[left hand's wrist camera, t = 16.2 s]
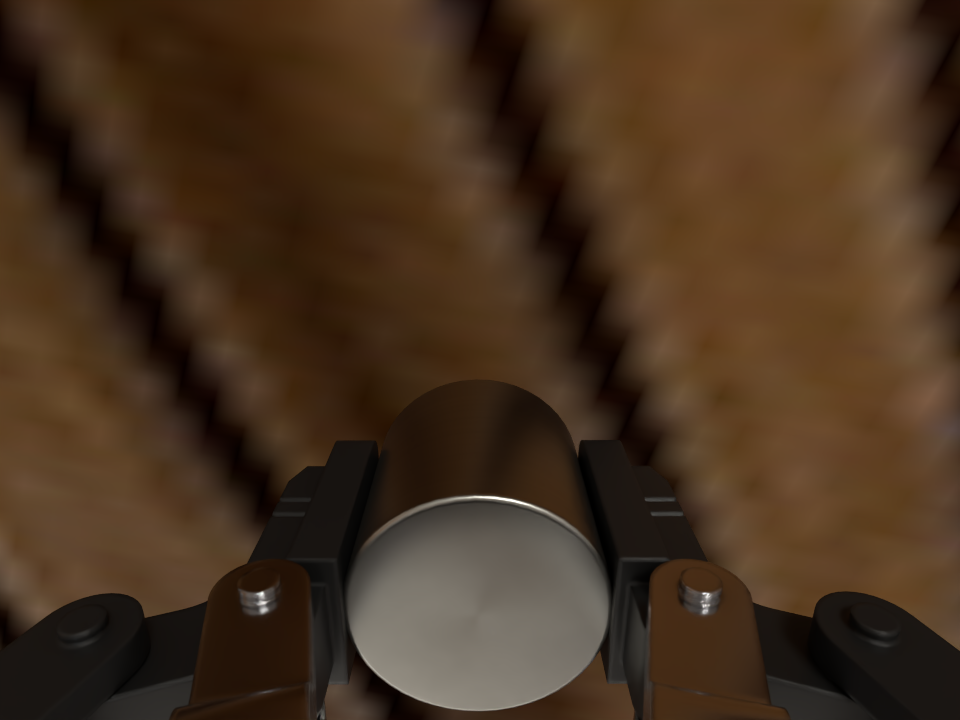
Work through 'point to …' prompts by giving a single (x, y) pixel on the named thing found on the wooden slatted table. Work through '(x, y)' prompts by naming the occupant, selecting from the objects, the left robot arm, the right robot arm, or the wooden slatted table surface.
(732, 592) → the left robot arm
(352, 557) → the can
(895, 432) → the wooden slatted table surface
